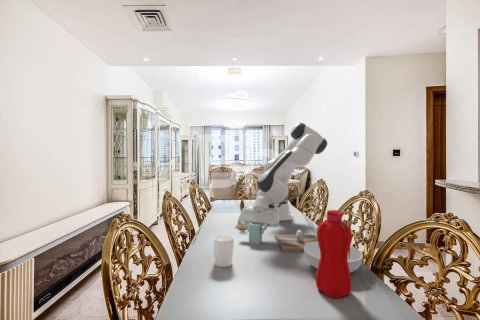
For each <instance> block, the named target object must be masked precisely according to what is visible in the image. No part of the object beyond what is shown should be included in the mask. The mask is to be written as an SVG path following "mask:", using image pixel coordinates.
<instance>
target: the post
mask: <svg viewBox="0 0 480 320" xmlns="http://www.w3.org/2000/svg"><path fill="white" fill-rule="evenodd" d="M295 235H296V241H297V242H303V235H304V234H303V231H302V230H301V229H297V231H296V233H295Z"/></svg>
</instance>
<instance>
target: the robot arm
mask: <svg viewBox="0 0 480 320" xmlns="http://www.w3.org/2000/svg"><path fill="white" fill-rule="evenodd" d="M290 136H291V138H292V140H291V141H290V142H289V143H288V144H287V146H286V147H284V149H283V150H282V151H281V152H280V153H279V154H277V155H276V156H275V157H273V158H272V159H271V160H269V161H267V162H265V163H264V165H263V172H262V173H261V174H260V175H259V176H258V177H257V179H256V186H257V193H256V199H255V200H254V203H253V207H252V206H244V208H243V209H242V211H241V210H240V214H239V216H238V219H239V221H240V223H242V224H247V226H248V228H247V229H246V230H247V233H249V224H250V223H252V222H256V223H262V229H260V233H261V234H262V235H264V233H265V231H266V230H267V229H268V227H269V228H275V229H276V228H277V227H279V224H280V222H282V221H293V220H294V218H293V217H294V216H293V213H291V210H290V205H289V198H288V197H289V193H290V189H289V188H288V186H289V185H288V184H289V181H290V177H291V175H292V174H293V173H294V171H295V167H299V168H302V167H305V166H307V165H309V164H310V162H311V161H312V159H313V158H314V156H315V155H320V154H321V153H323V152H324V151H325V150H326V148H327V146H328V141H327V139H326V138H325V137H323V136H322V135H321V134H320V133H318V132H317V131H316V130H314V129H312V128H311V127H309V126H307V125H306V123H303V122H298V123H297V124H295V125H293V127H292V128H291V131H290Z"/></svg>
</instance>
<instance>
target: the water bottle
mask: <svg viewBox="0 0 480 320" xmlns="http://www.w3.org/2000/svg"><path fill="white" fill-rule="evenodd" d="M342 218H343V213H342V211H341V210H337V209H328V210H327V211H326V219H325V220H324V221H321V222H320V223H319V225H318V226H317V229H316V237H317V239H318V243H319V248H320V261H319V265H318V269H317V268H316V269H317V270H316V274H315V275H316V276H315V286H316V287H317V289H318V290H319V291H321V292H322V293H323V294H325V295H327V296H328V297H330V298H341V297H343V296H348V295H350V293H351V292H352V276H351V273H350V271H349V266H348V261H347V259H349V258H350V246H352V240H353V236H352V235H353V234H352V230H351V227H350V226H349V225H348V224H347V223H346V222H344V221H343V219H342ZM348 253H349V258H348Z"/></svg>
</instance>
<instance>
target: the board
mask: <svg viewBox="0 0 480 320" xmlns="http://www.w3.org/2000/svg"><path fill="white" fill-rule="evenodd" d="M274 238H275V241H276V243H277V244H278V246H279V247H280V250H281V251H282V253H295V252H296V253H301V252H302V253H304V246H305V245H306V244H308V243H311V242H316V241H318V239H317V236H316V235H315V234H303V242H297V241H296V234H274Z"/></svg>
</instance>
